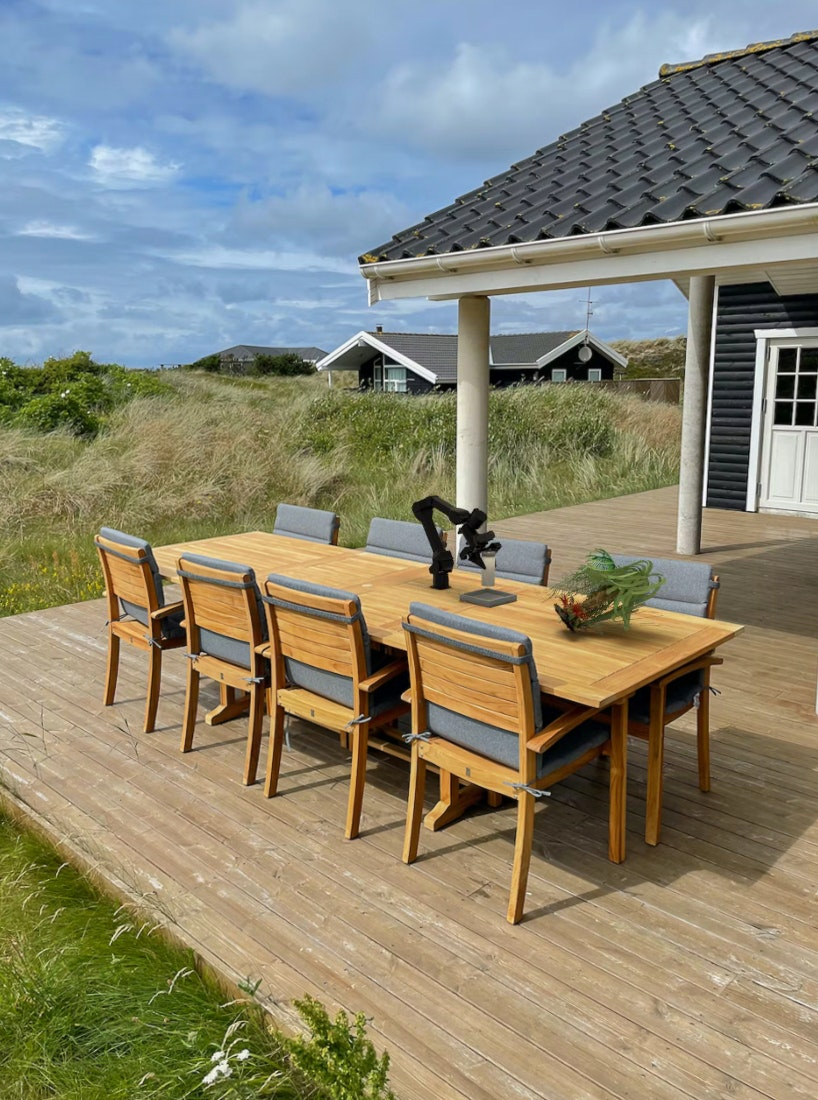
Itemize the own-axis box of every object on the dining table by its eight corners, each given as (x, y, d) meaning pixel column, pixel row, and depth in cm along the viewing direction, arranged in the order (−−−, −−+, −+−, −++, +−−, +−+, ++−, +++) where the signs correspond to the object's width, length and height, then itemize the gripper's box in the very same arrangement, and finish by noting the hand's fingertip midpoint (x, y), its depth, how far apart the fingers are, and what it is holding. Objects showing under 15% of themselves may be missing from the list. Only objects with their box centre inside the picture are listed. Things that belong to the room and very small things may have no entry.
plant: (534, 594, 318) (632, 544, 316) (580, 678, 303) (683, 626, 302) (524, 562, 286) (633, 507, 284) (575, 654, 272) (690, 596, 270)
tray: (459, 600, 342) (459, 594, 342) (487, 593, 353) (487, 587, 352) (489, 607, 331) (489, 601, 330) (516, 600, 341) (516, 594, 341)
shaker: (479, 586, 339) (479, 552, 337) (483, 583, 344) (484, 549, 342) (492, 587, 337) (493, 553, 335) (496, 584, 342) (497, 550, 340)
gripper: (464, 526, 334) (483, 559, 327) (499, 521, 345) (518, 553, 338) (450, 543, 341) (469, 575, 335) (485, 538, 352) (503, 569, 346)
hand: (490, 568), depth 338 cm, fingers closed on shaker, 5 cm apart
